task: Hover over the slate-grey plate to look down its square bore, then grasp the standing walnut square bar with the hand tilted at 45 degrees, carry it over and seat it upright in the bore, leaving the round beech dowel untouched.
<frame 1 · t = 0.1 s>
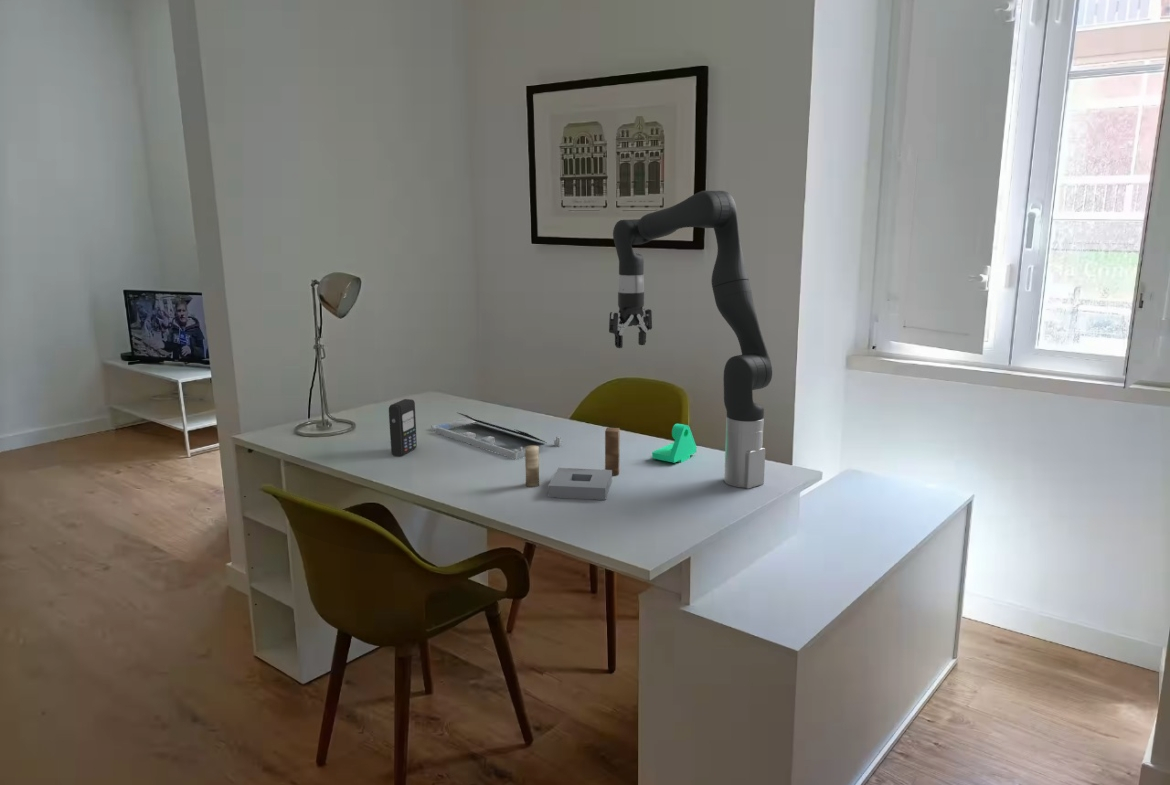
hand: (630, 346, 241), 29 cm above the table, tool pointing down, fingers open, 8 cm apart
card reader: (404, 453, 240), on the table
bore plate: (581, 488, 208), on the table
camera mount: (673, 459, 233), on the table
paper cutter: (492, 439, 254), on the table
walnut bar: (612, 473, 221), on the table
beech dowel: (532, 484, 212), on the table
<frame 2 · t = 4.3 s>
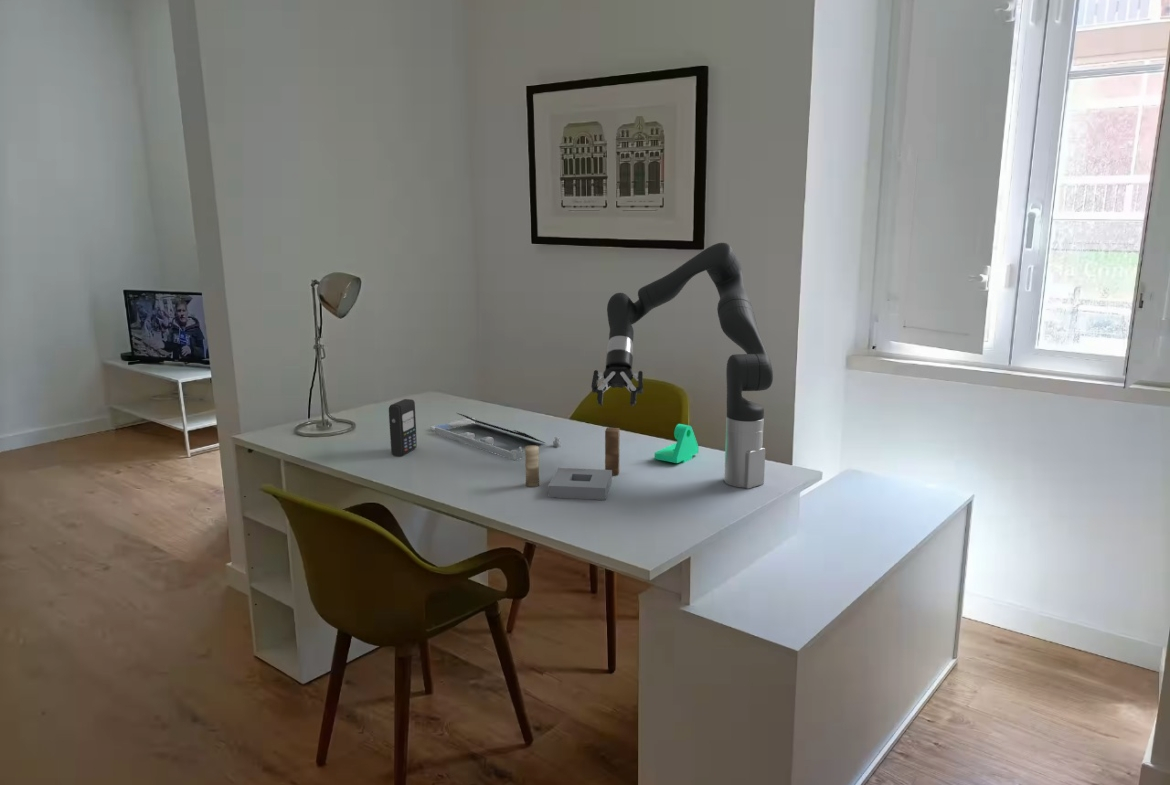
hand: (616, 404, 228), 16 cm above the table, tool tilted 45°, fingers open, 8 cm apart
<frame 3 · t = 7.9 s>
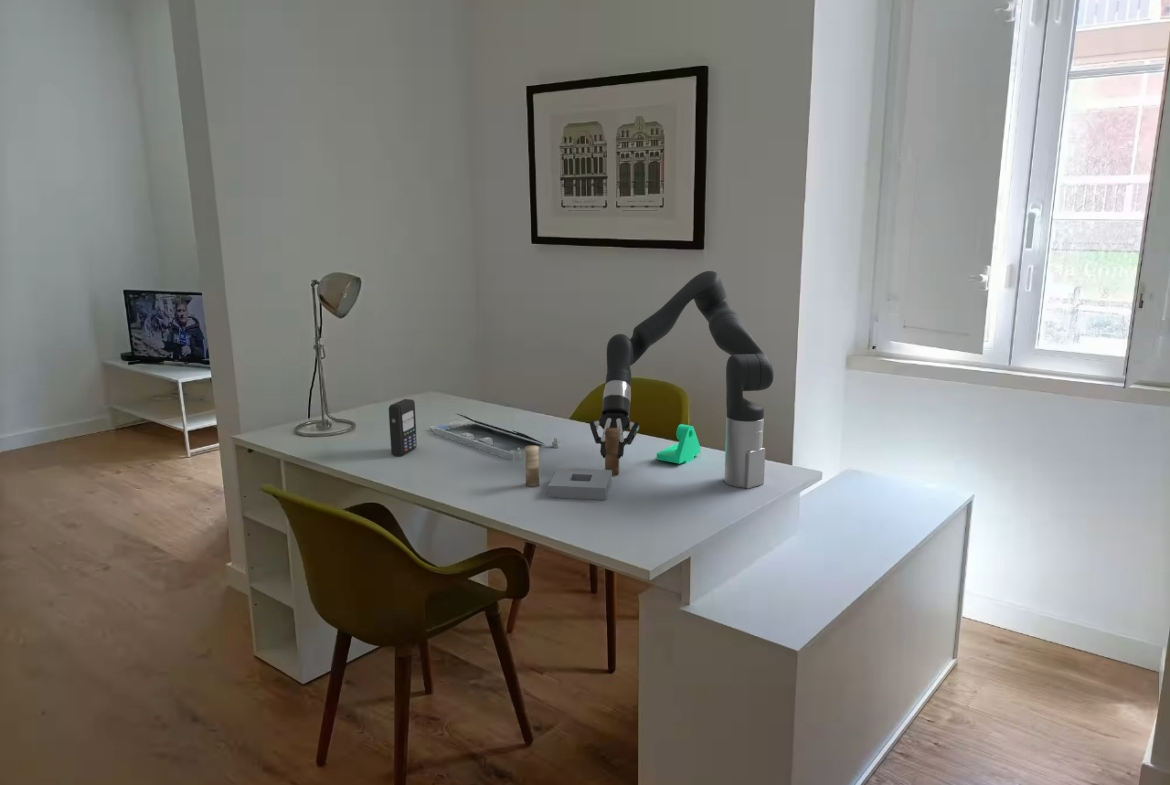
hand: (611, 456, 217), 5 cm above the table, tool tilted 45°, fingers closed on walnut bar, 3 cm apart
walnut bar: (612, 473, 221), on the table, touching gripper
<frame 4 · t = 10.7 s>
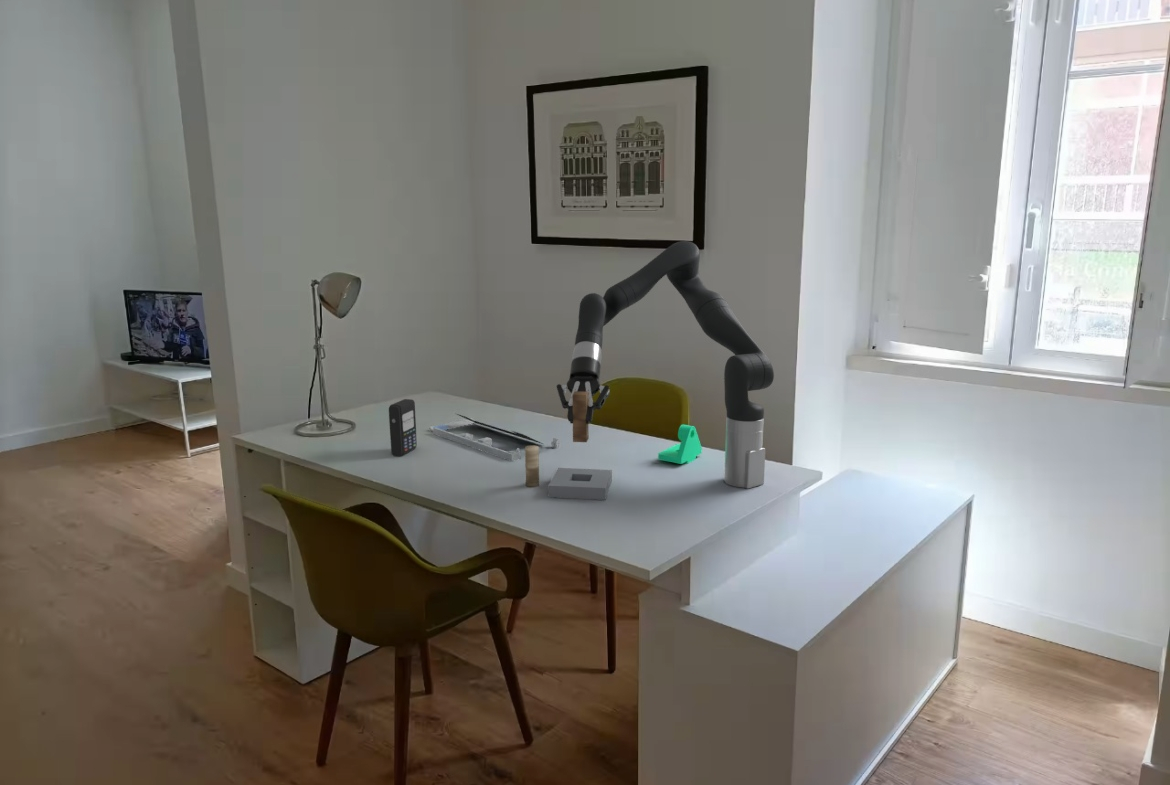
hand: (579, 421, 203), 18 cm above the table, tool tilted 45°, fingers closed on walnut bar, 3 cm apart
walnut bar: (580, 440, 206), point 13 cm above the table, touching gripper
when the fingers open (7 cm above the table, at t = 13.5 s): walnut bar drops 1 cm, resting in bore plate.
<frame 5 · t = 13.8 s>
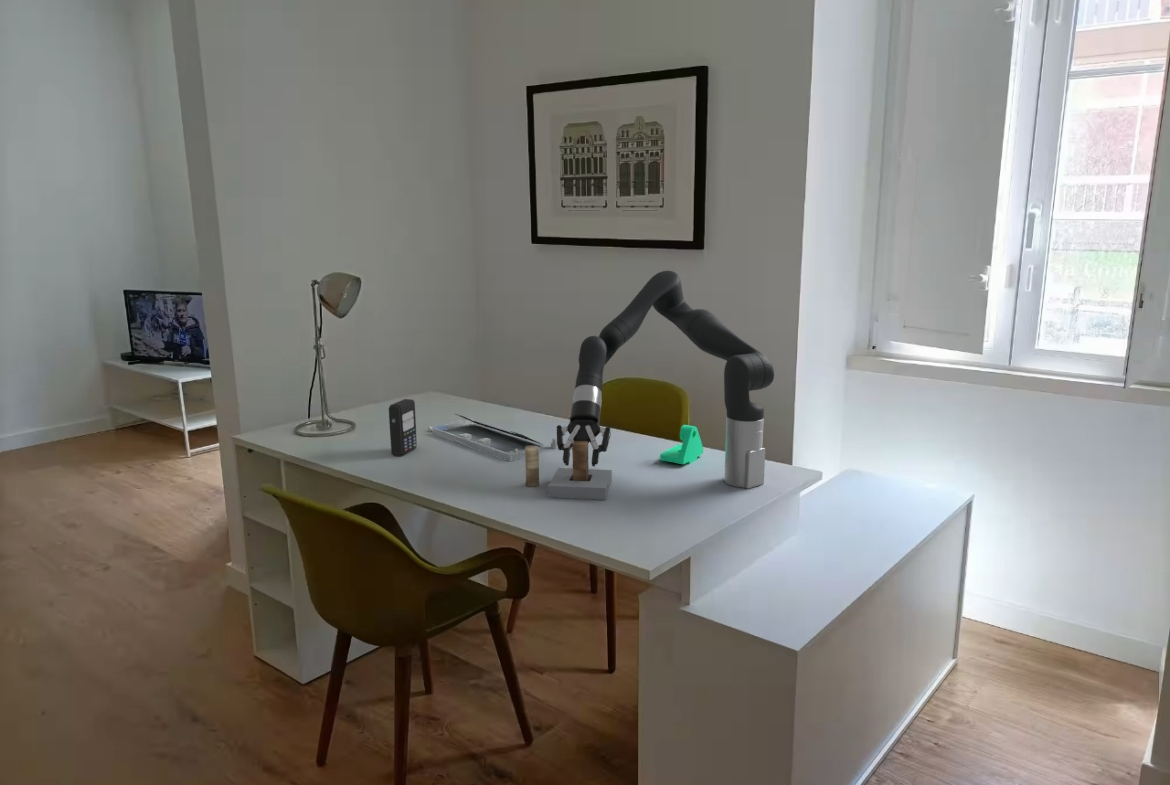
hand: (579, 464, 205), 7 cm above the table, tool tilted 45°, fingers open, 6 cm apart
walnut bar: (581, 488, 209), resting in bore plate
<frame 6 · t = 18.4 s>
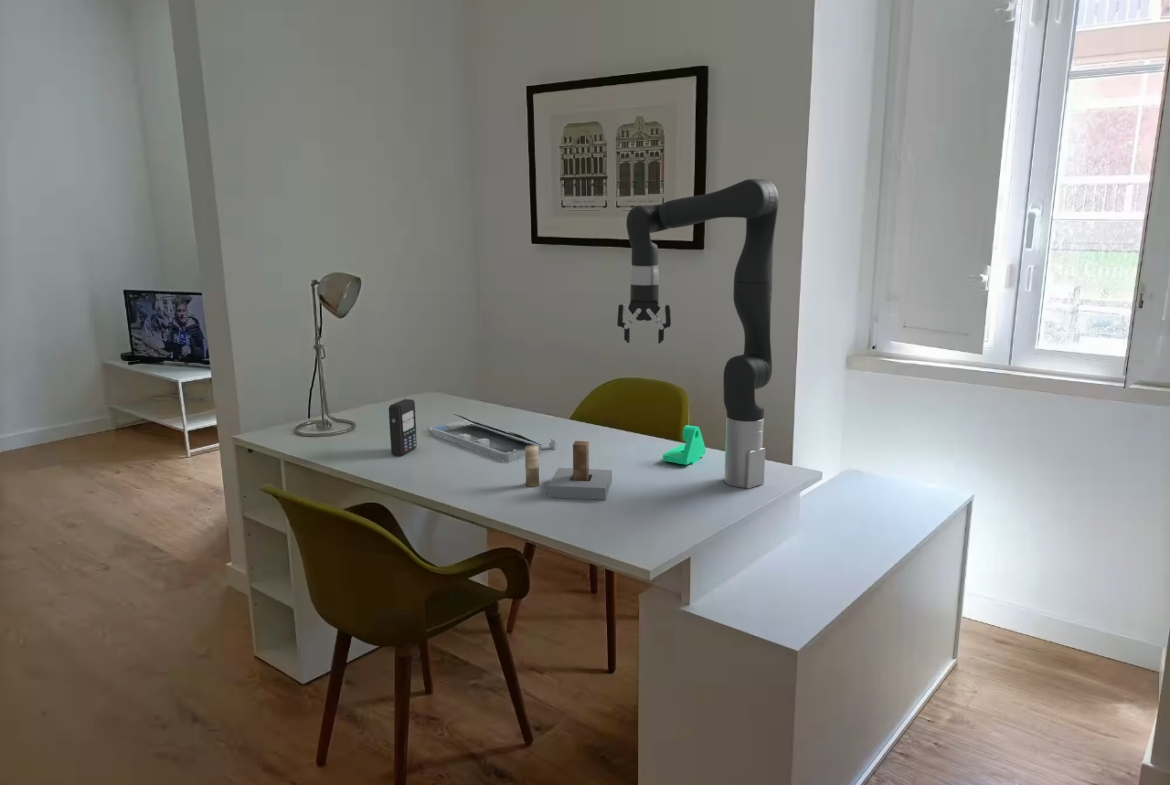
hand: (643, 342, 224), 33 cm above the table, tool pointing down, fingers open, 8 cm apart
at the end: walnut bar 0.1 cm off-centre on the bore plate, point 0.0 cm above the bore plate's base; walnut bar tilted 0°; the gripper is holding nothing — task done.
